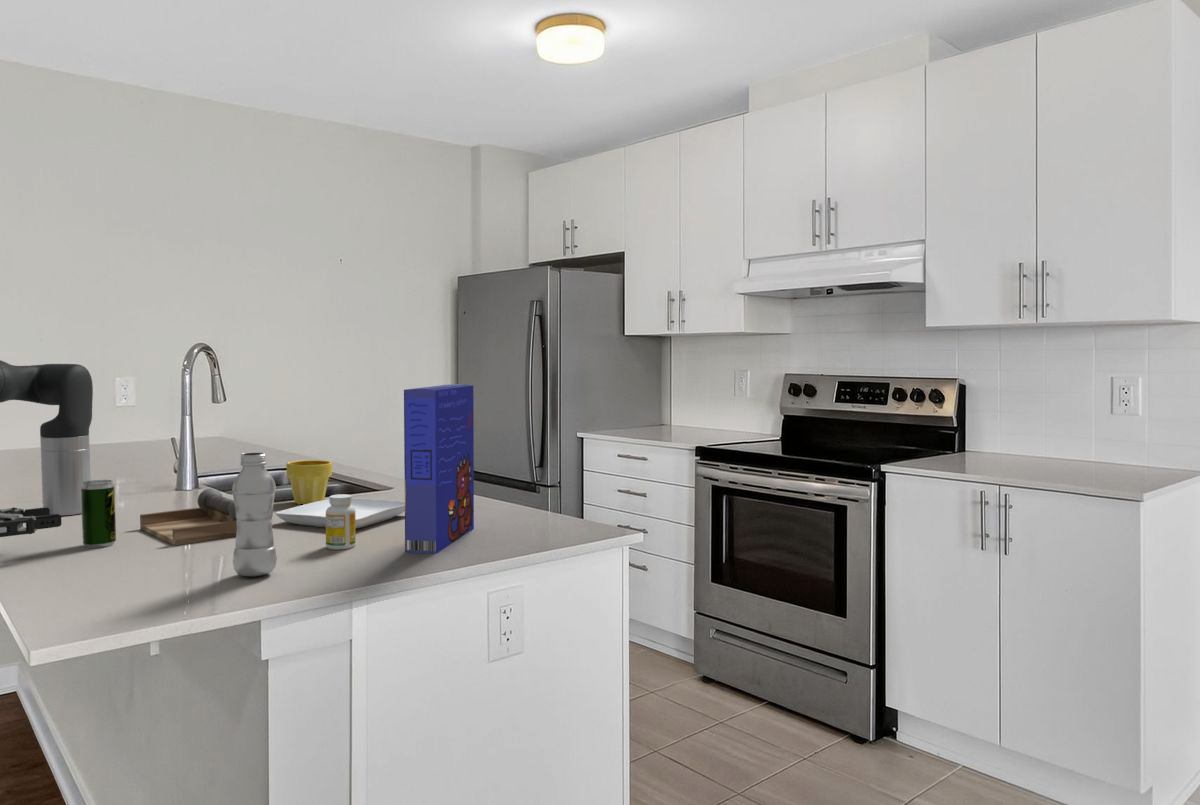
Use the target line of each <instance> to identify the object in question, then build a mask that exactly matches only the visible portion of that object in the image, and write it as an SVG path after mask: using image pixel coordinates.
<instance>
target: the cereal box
mask: <svg viewBox="0 0 1200 805" xmlns="http://www.w3.org/2000/svg"><path fill="white" fill-rule="evenodd" d="M474 422H475V421H474V385H471V384H466V383H454V384H442V385H434V386H433V385H432V386H426V387H423V386H422V387H416V388H415V387H414V388H408V389H403V429H404V431H403V441H404V442H403V443H404V444H403V447H404V450H403V451H404V452H403V453H404V456H403V457H404V501H405V512H404V552H405V553H415V554H416V553H419V554H433V555H434V554H439V552H441V551H442V550H444V549H445V548H447V547H449V546H450V545H452V544H453V543H455V542H456V541H458V540H459V539H460V538H463V537H464V536H465V535H467V534H468V533H470V532H472V531H473V530H474V529H475V524H474V523H475V522H474V521H475V513H474V510H475V508H474V507H475V506H474V505H475V503H474V502H475V500H474V499H475V498H474V494H475V493H474V492H475V488H474V484H475V483H474V482H475V481H474V480H475V479H474V477H475V472H474V471H475V470H474V469H475V466H474V461H475V460H474V456H475V455H474V453H475V452H474V445H475V444H474V441H475V440H474V436H475V435H474V432H475V431H474V427H475V426H474Z"/></svg>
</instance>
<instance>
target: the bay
mask: <svg viewBox="0 0 1200 805" xmlns="http://www.w3.org/2000/svg"><path fill="white" fill-rule="evenodd" d="M197 505H198V507H192V508H185V509H176V510H168V511H166V510H165V511H159V512H151V513H144V514H143V513H142V514H139V524H140V525H139V527H140V528H139V529H140V530H141V531H143V532H145V533H148V534H150V535H152V536H154V537H156V538H158V539H160V540H162V541H165V542H166V543H168V544H171V545H173V546H181V545H188V544H195V543H202V542H207V541H208V542H209V541H217V540H221V539H222V540H223V539H227V538H228V539H229V538H236V532H237V524H236V522H237V519H236V509H235V503H234V499H231V498H228V497H224V496H223V494H222V493H221V491H219V490H218V489H215V488H211V487H210V488H207V489H203V491H201V492H200V493H199V495H198V496H197Z"/></svg>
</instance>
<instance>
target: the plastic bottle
mask: <svg viewBox="0 0 1200 805" xmlns="http://www.w3.org/2000/svg"><path fill="white" fill-rule="evenodd" d="M239 464H240V467H242V469H241V470H240V471H239V473H238V474H237V475H236V478H235V479H234V481H233V483H232V487H231V488H232V489H231V490H232V496H233V500H234V503H235V509H236V519H237V522H236V524H237V532H236V537H235V545H234V547H235V548H234V550H233V556H232V565H233V570H234V572H235V573H236V574H237V575H239V576H242V577H253V578H254V577H261V576H263V575H268V574H270V573H272V572H273V571H274V569H275V568H276V565H277V559H278V558H277V551H276V546H275V545H274V544H275V543H274V532H273V531H274V530H273V514H274V513H273V512H274V502H275V496H276V489H277V488H276V487H277V486H276V482H275V478H273V476H272V475H271V473H270V472H269V471H268V470H267V469H266V468H265V465H267V460H266V453H265V452H244V453H240V462H239Z"/></svg>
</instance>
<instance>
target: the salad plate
mask: <svg viewBox="0 0 1200 805" xmlns="http://www.w3.org/2000/svg"><path fill="white" fill-rule="evenodd" d="M330 506H331V504H330V503H329V498H328V499H324V500H322V501H317V502H313V503H309V504H305V505H297V506H294V507H290V508H287V509H283V510H278V511H275V515H276V516H277V517H278V518H279V519H281V520H283V521H285V522H287V523H291V524H295V525H299V526H308V527H319V528H326V510H327V508H328V507H330ZM350 506H353V507H354V508H355V530H356V529H361V528H365V527H369V526H371V525H375V524H377V523H381V522H385V521H387V520H390V519H393V518H394V517H397V516H399V515H402V514H403V513H405V500H403V501H402V500H393V499H380V498H365V497H364V498H363V497H352V502H351V504H350Z"/></svg>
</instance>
